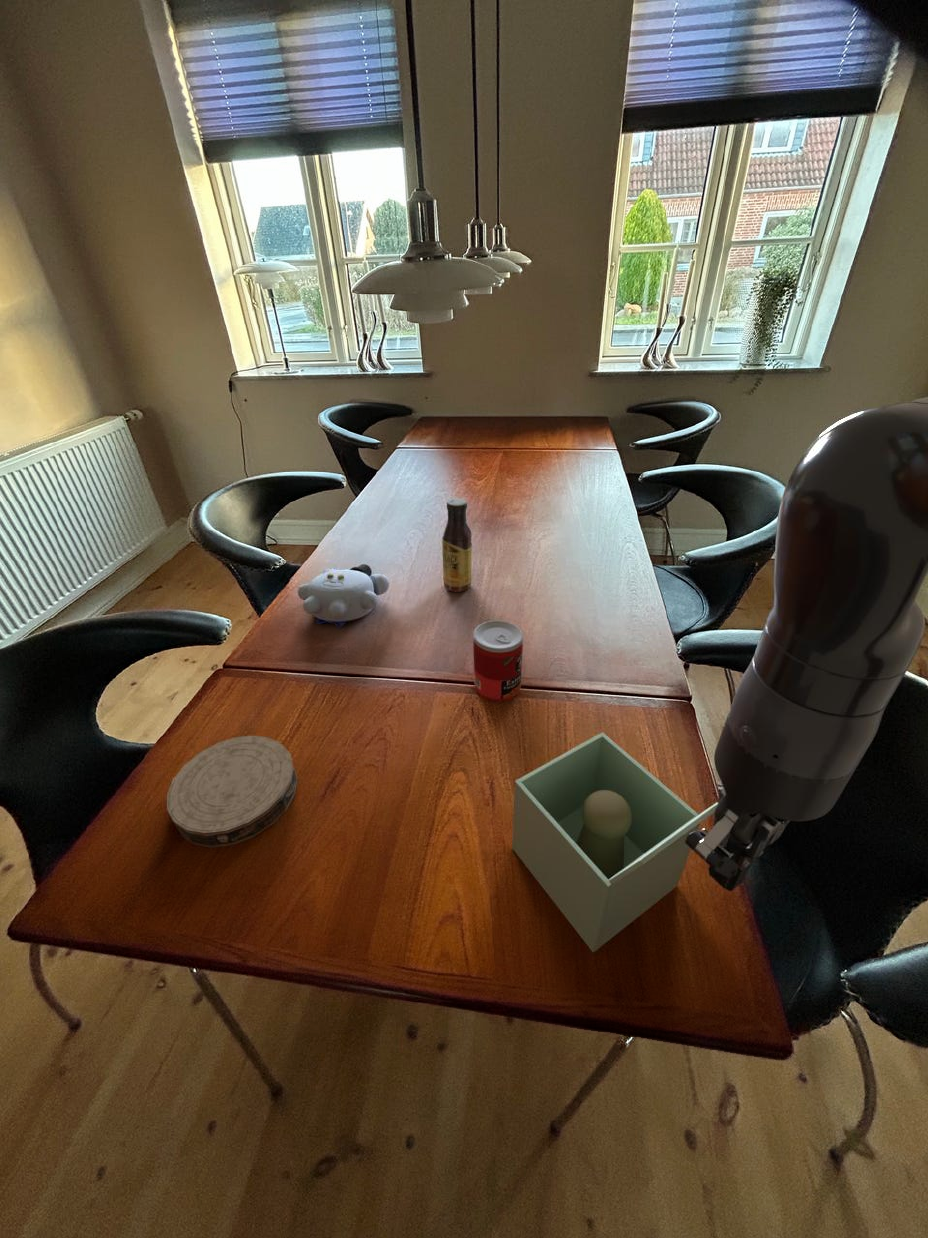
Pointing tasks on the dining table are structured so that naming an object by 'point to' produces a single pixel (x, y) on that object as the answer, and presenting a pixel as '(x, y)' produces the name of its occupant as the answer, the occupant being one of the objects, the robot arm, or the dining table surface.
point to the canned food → (497, 660)
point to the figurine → (342, 594)
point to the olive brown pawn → (605, 830)
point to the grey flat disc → (232, 791)
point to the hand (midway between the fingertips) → (724, 877)
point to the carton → (556, 822)
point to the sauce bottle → (457, 548)
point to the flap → (664, 844)
